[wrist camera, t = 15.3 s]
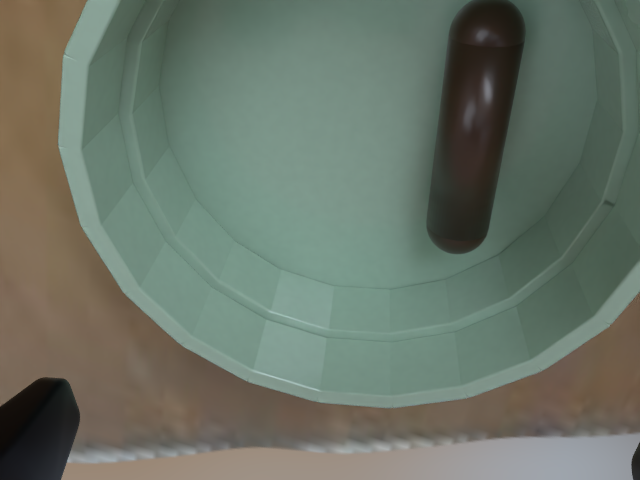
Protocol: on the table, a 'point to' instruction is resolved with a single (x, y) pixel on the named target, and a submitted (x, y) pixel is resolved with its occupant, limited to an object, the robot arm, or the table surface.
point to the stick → (473, 121)
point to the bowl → (352, 189)
